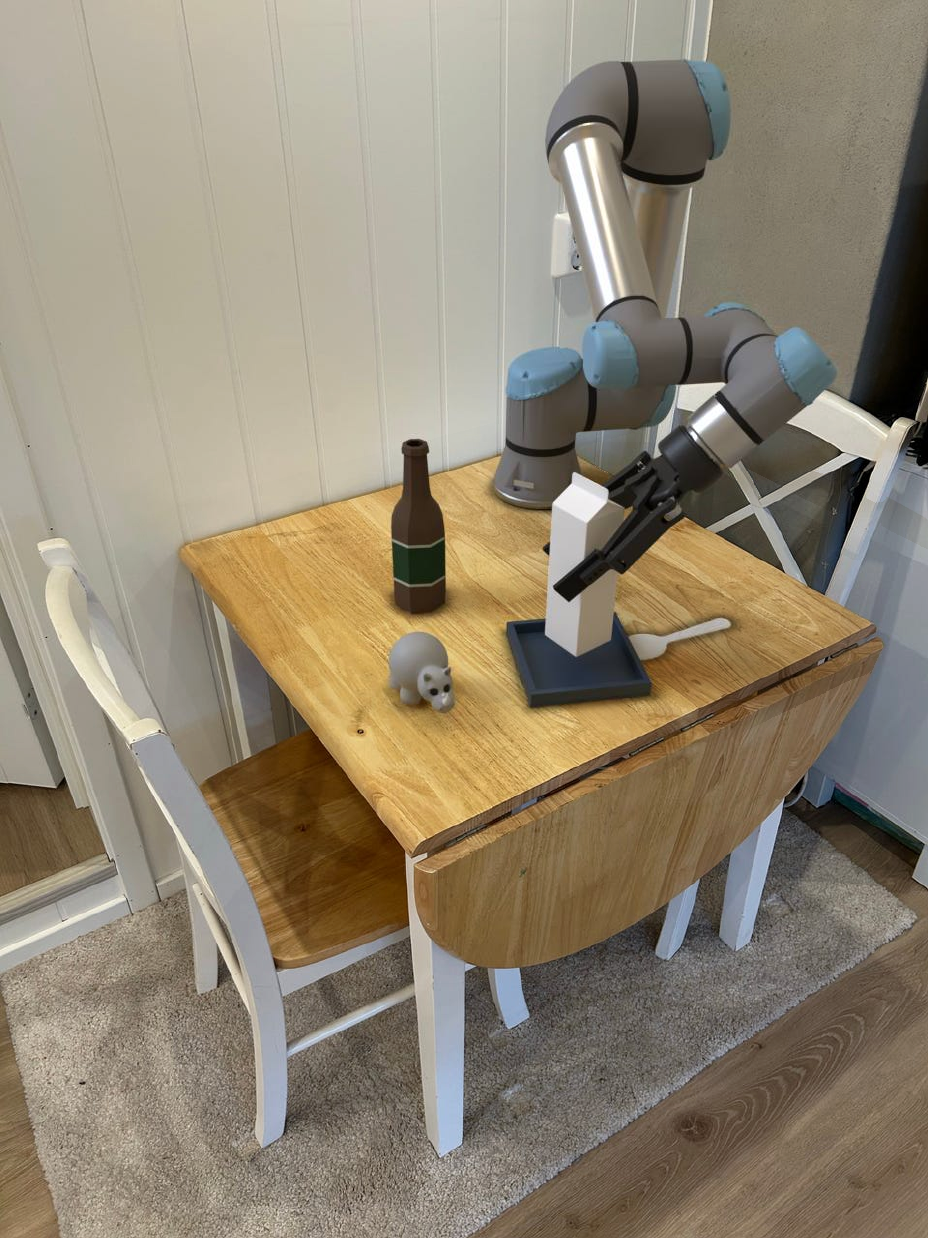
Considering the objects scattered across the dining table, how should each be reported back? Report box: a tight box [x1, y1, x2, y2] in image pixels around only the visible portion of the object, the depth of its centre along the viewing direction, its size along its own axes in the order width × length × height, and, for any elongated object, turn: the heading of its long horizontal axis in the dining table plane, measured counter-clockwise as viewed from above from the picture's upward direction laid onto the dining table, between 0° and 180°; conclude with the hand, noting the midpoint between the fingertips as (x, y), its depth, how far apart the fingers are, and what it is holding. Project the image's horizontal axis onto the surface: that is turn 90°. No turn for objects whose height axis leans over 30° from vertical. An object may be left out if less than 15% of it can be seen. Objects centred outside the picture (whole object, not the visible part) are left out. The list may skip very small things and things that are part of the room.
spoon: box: [628, 617, 732, 661], centre depth 128 cm, size 5×18×1 cm, turn 115°
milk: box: [545, 472, 626, 657], centre depth 115 cm, size 6×6×22 cm
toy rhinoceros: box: [388, 631, 456, 714], centre depth 114 cm, size 7×12×8 cm, turn 25°
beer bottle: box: [390, 438, 447, 614], centre depth 129 cm, size 8×8×24 cm
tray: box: [505, 611, 653, 709], centre depth 123 cm, size 16×15×2 cm
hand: (555, 574), depth 115 cm, fingers closed on milk, 8 cm apart
